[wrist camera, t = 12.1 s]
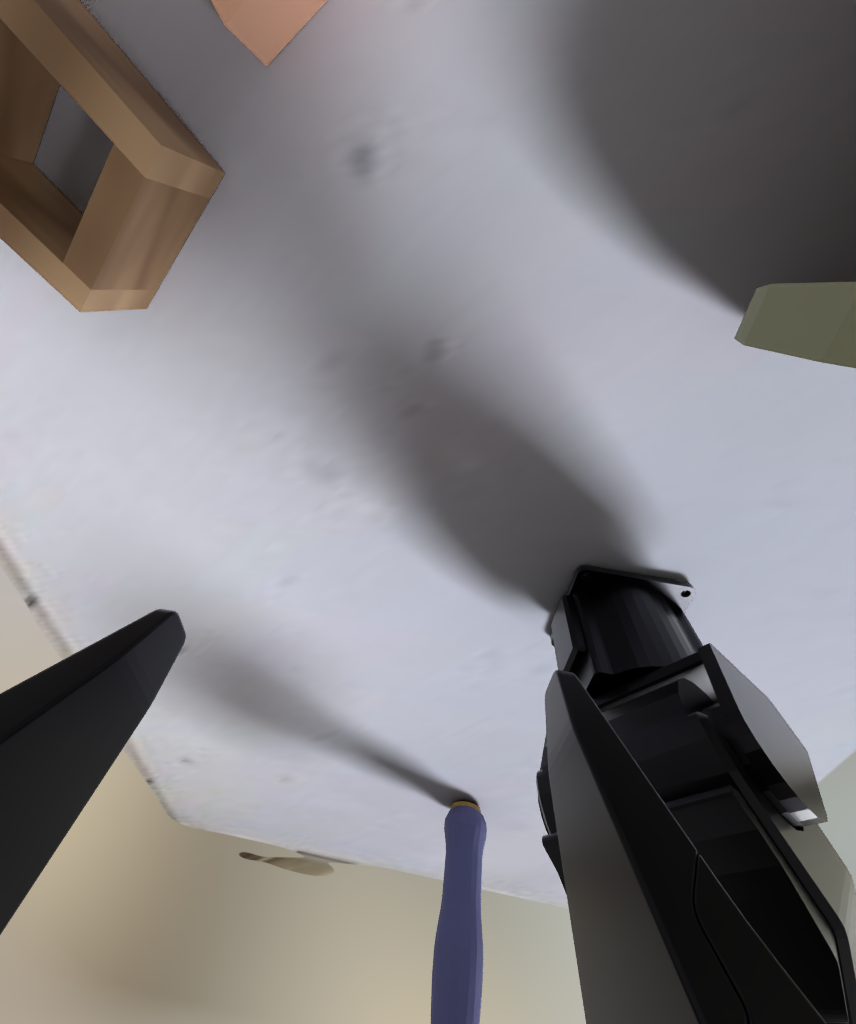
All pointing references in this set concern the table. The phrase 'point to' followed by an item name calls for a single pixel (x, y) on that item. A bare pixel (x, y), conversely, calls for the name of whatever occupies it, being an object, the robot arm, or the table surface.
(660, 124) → the table surface
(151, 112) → the wooden square frame
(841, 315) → the spool
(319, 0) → the socket block
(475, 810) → the rubber mallet
